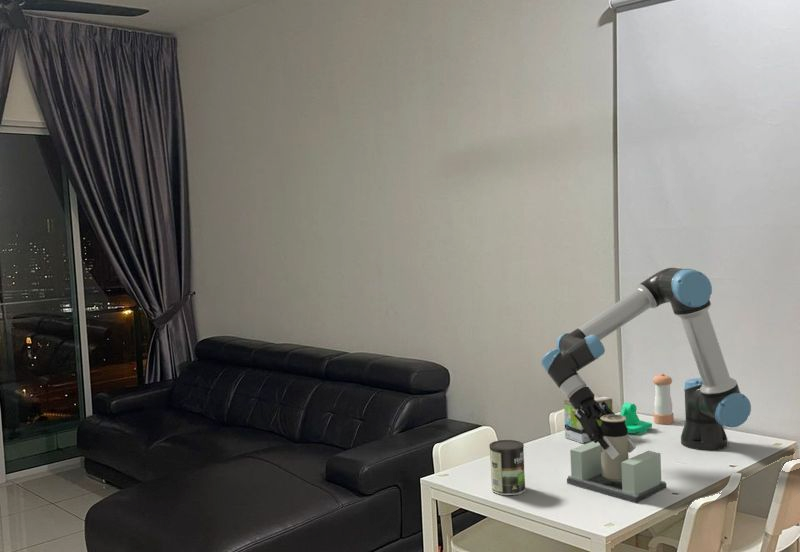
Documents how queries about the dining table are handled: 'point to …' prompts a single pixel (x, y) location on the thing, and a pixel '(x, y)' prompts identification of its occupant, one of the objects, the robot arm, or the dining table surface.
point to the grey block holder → (635, 470)
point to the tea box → (572, 423)
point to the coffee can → (507, 467)
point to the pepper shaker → (663, 400)
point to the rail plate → (613, 487)
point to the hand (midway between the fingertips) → (624, 453)
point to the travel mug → (614, 445)
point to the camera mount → (634, 419)
